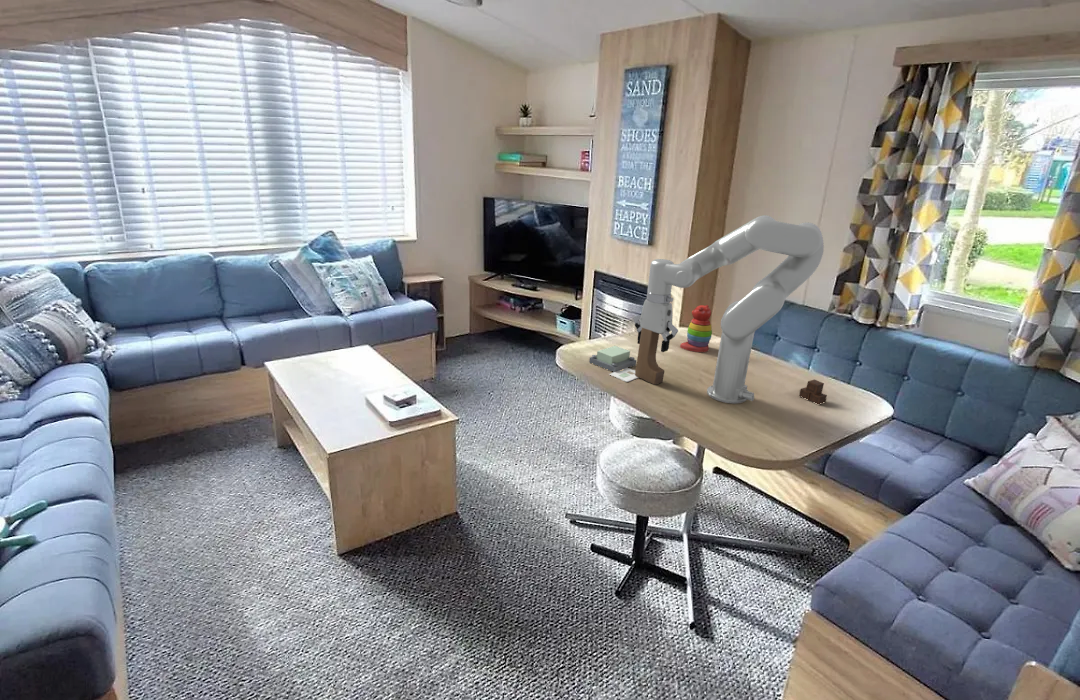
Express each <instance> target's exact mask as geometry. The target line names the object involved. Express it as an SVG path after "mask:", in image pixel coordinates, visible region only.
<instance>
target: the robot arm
mask: <svg viewBox="0 0 1080 700" xmlns="http://www.w3.org/2000/svg"><path fill="white" fill-rule="evenodd" d="M824 248H825V246H824V237H823V233H822V231H821V228H819V226H818V225H817V224H815V223H813V222H806V221H805V222H802V223H799V224H795V223H787V222H783V221H778V220H776V219H775V218H774V217H772V216H770V215H759V216H757V217H755V218H753V219H751V220H750V221H748V222H747V223H745V224H743V225H742V226H740V227H738V228H736V229H734V230H732V231H731V232H729V233H727V234H725V235H724V236H722V237H720V238H719V239H717V240H716V241H713V243H711V245H708V246H707V247H704V248H703V249H702V250H700V251H698V252H696V253H695V254H693V255H691V256H689V257H688V258H686V259H684V260H683V261H681V262H680V263H674V262H673V260H669V259H666V258H665V259H664V258H663V259H662V258H657V259H652V261H651V262H650V267H649V273H648V274H649V276H648V284H647V293H646V299H644V302H643V305H642V308H641V313H640V315H638V316H633V321H634V322H633V323H634V326H635V328H636V332H637V344H638V345H639V344H640V337H641V331H642V328H645V329H648V330H651V331H653V332H655V333H658V334H659V335H661V337H662V339H663V340H661V347H660V352H661V353H665V352H668V350H669V348H670V342H671V340H672V339H674V338H675V337H676V335H678V332H679V329H678V328H677V327H676V326H675V325H674V324H673V318H674V317H673V303H672V302H673V301H674V298H673V297H672V289H673V288H672V287H678V288H680V289H687V288H689V287H691V286H692V285H694V283H696V281H698V280H699V279H700V278H702V277H704V276H706V275H708V274H709V273H711V272H713V271H715V270H717V269H719V268H721V267H724V266H730V265H732V264H736V262H737V263H738V262H739V261H740V260H742V259H744V258H746V257H748V256H749V255H751V254H753V253H755V252H756V251H759V250H761V251H765V252H770V253H773V254H774V253H776V254H781V255H785V256H787V257H785V259H784V260H783V261H782V262H780V263H779V265H778V266H776V267H775V268H774V269H773V270H771V272H769V273H768V274H767V275H766V276H765V277H763V278H762V279H760V280H759V281H758V282H756V283H755V284H754V286H753V287H752V290H751V291H750V292H749V293H747V294H746V295H745V296H744V297H743V298H741V299H740V300H736V301H734V302H732V303H730V304H729V306H727V307H726V309H725V311H724V313H723V315H722V317H721V320H720V330H721V337H720V341H719V348H718V352H717V353H718V354H717V359H716V365H715V370H714V371H715V372H714V377H713V382H712V385H710V386H708V387H707V389H706V394H707V395H708V396H709V397H710V398H712V399H713V400H716V401H718V402H722V403H726V404H742V403H744V402H746V401H751V402H753V401H754V400H755V393H754V392H752V391H749V390H748V385H747V384H746V379H747V374H748V373H747V372H748V369H749V368H748V367H749V362H750V359H751V352H752V347H753V342H754V337H755V333H756V331H757V330H758V329H760V328H761V327H762V326H763V325H765V324H767V322H768V321H769V320H771V319H773V317H774V316H775V315H777V314H778V313H779V312H780V311H781V309H782V308H783V306H784V304H785V301H786V300H787V298H788V297H789V296H790V295H791V294H793V292H794V291H796V290H797V289H798V288H799V287H800V286H801V285H803V284H804V283H806V281H807V280H809V279H810V277H812V275H814V273H815V272H816V271H817V269H818V267H819V266H820V264H821V261H822V258H823V255H824V251H825V250H824ZM670 332H671V333H670Z"/></svg>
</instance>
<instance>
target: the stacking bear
mask: <svg viewBox="0 0 1080 700" xmlns="http://www.w3.org/2000/svg"><path fill="white" fill-rule="evenodd" d="M691 316H692V317H693V318H692V319H691V321H690V323H689V325H688V328H687V334H686V339H687V341H685V342H681V343H680V346H679V347H680V348H681V349H682V350H686V351H688V352H689V351H690V352H695V353H706V352H708V351H709V349H710V347H709V344H710V341H711V339H712V335H713V329H712V327H713V326H712V323H711V321H710V318H711V316H712V310H711V308H710V306H709V305H708V304H706V305H702V304H700V305H698V306H696V307H695V308H694V309H693V310H692V311H691Z"/></svg>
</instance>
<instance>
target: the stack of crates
mask: <svg viewBox="0 0 1080 700" xmlns="http://www.w3.org/2000/svg"><path fill="white" fill-rule="evenodd" d="M824 385H825V383H824V382H822V381H820V380H817V379H812V380H811V379H810V380H808V381H807V384H806V387H802V388H800V391H799V395H798V397H799V396H802V397H803V398H802V399H804V398H806V399H808V400H807V401H809V400H810V401H812V402H811V403H813V402H815V403H817V404H820V403H823V402H825V403H826V401H827V394H826V393H825V394H824V393H823V389H824ZM806 399H805V400H806ZM810 401H809V402H810ZM815 403H814V404H815ZM817 404H816V405H817ZM820 405H821V404H820Z"/></svg>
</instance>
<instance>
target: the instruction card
mask: <svg viewBox="0 0 1080 700" xmlns="http://www.w3.org/2000/svg"><path fill="white" fill-rule="evenodd" d="M635 371H636V369H632V368H631V367H630V368H625V369H624V370H623V371H620V370H619V371H616V372H611V373H608V376H610V375H611V377H613V376H614V377H613V378H615V377H616V379H618V380H621V381H623V382H625V383H628V382H631V381H634V380H636V379H640V378H639V377H637V376H635Z"/></svg>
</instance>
